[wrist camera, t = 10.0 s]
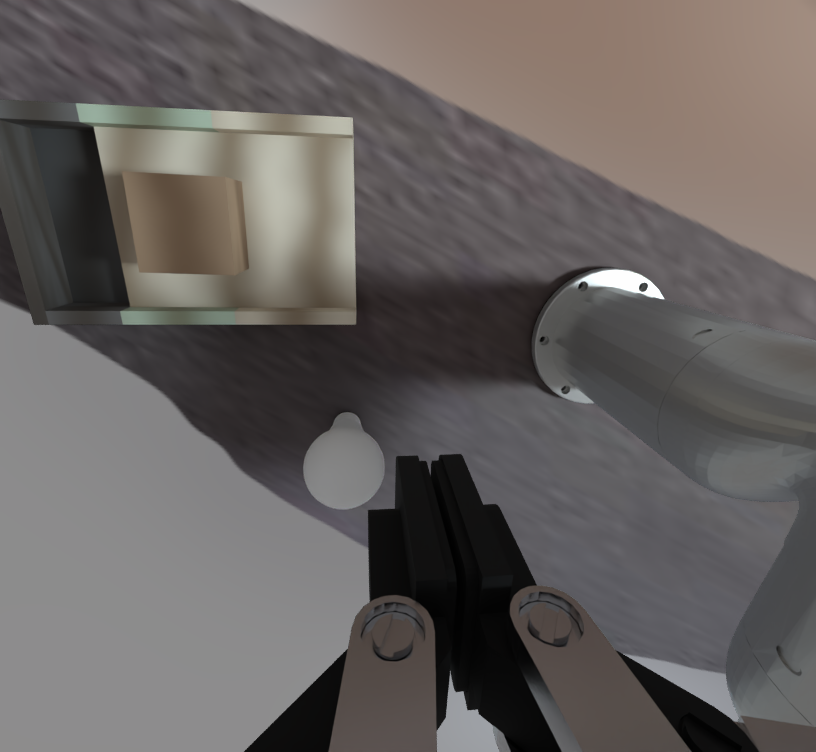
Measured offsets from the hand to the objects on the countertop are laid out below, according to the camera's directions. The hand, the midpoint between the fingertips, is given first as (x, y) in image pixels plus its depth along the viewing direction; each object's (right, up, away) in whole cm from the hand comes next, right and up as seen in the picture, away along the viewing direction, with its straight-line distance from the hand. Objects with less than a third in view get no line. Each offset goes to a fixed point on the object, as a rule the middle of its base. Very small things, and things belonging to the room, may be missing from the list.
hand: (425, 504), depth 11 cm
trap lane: (-17, +15, +22) cm, 31 cm away
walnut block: (-15, +14, +20) cm, 29 cm away
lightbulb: (-6, -1, +29) cm, 30 cm away
